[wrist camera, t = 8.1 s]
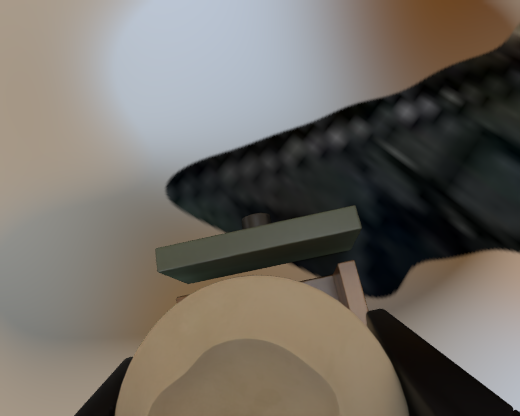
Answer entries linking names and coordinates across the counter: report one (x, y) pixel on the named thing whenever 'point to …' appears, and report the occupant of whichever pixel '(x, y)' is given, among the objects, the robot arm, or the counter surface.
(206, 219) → the counter surface
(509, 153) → the counter surface
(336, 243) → the drawer
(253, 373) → the candle
